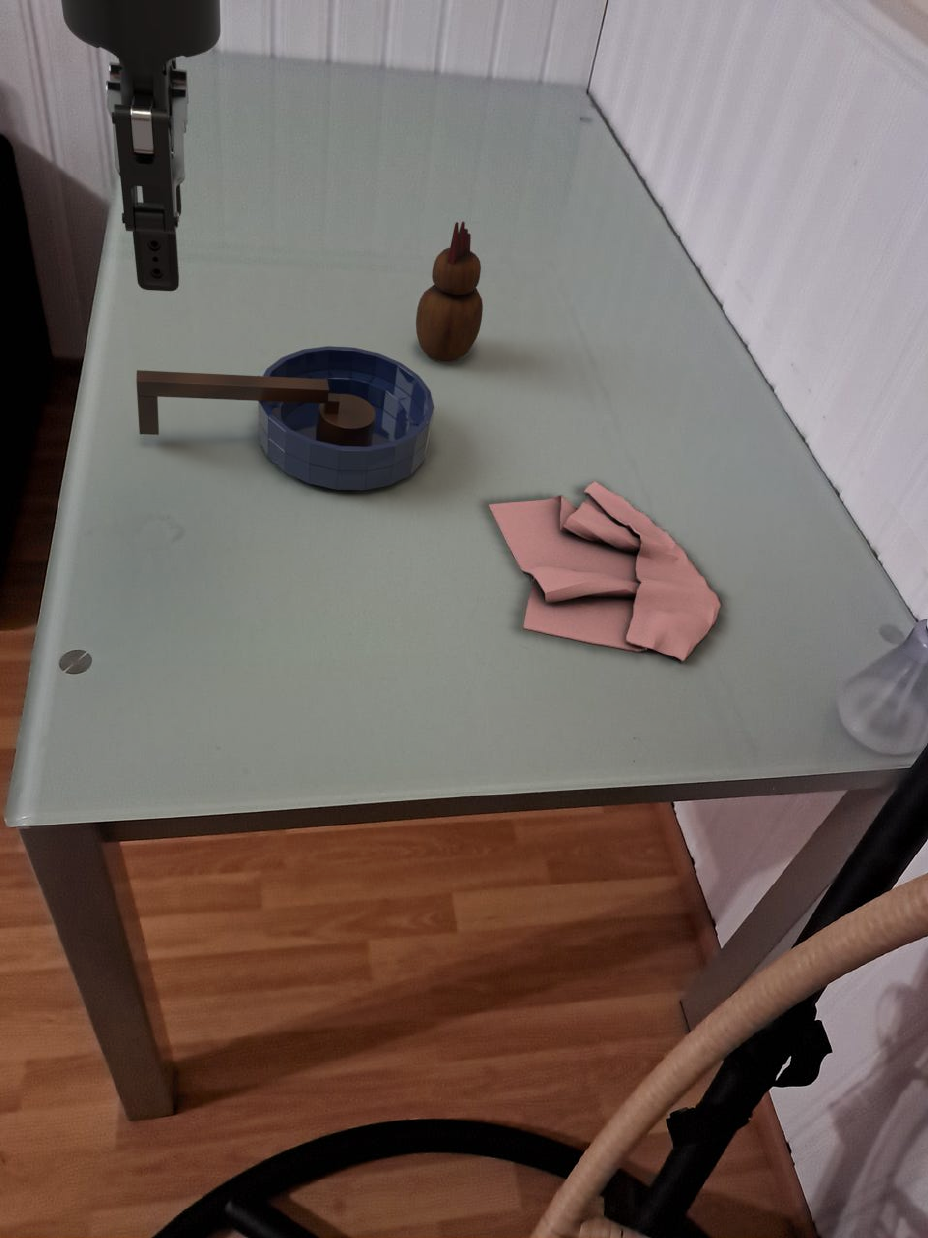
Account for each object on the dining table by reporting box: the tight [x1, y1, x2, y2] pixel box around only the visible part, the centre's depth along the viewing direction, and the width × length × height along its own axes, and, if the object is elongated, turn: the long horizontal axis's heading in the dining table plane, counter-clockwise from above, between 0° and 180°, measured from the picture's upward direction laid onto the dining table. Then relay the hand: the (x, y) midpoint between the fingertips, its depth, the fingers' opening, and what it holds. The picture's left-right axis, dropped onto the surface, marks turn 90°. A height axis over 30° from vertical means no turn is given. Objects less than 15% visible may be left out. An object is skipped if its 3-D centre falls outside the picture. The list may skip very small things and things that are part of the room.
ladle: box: [135, 369, 376, 447], centre depth 84 cm, size 21×5×6 cm, turn 102°
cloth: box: [488, 481, 722, 663], centre depth 82 cm, size 20×22×2 cm
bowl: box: [257, 345, 435, 491], centre depth 87 cm, size 16×16×5 cm
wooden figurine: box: [415, 221, 484, 363], centre depth 96 cm, size 7×6×15 cm
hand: (161, 249), depth 57 cm, fingers open, 8 cm apart
